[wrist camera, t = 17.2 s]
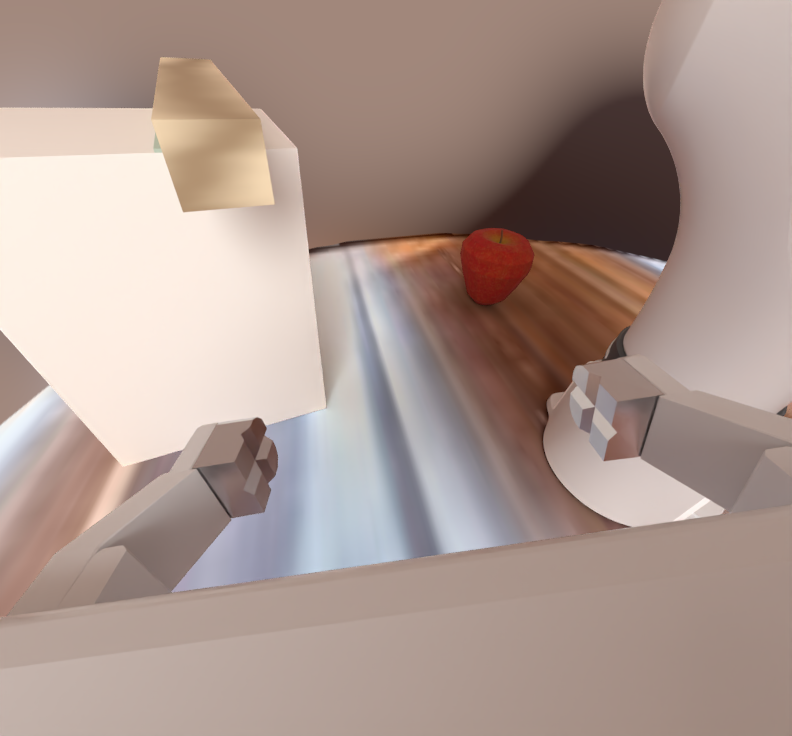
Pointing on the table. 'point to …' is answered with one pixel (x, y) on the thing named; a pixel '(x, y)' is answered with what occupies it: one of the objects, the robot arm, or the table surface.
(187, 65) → the tan rectangular block
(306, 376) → the white cardboard box
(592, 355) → the table surface
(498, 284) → the apple
